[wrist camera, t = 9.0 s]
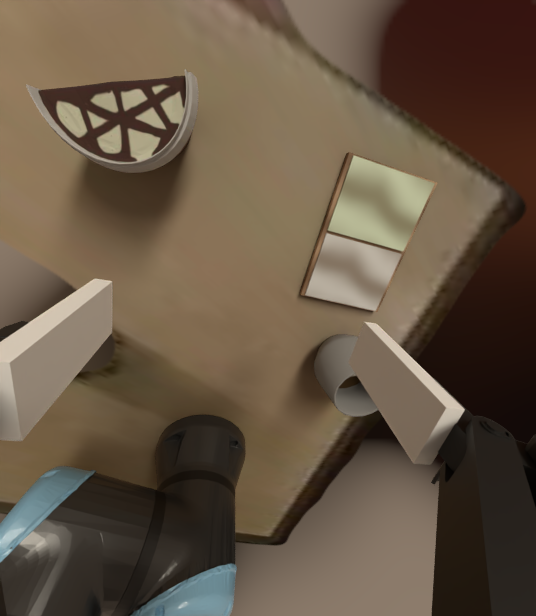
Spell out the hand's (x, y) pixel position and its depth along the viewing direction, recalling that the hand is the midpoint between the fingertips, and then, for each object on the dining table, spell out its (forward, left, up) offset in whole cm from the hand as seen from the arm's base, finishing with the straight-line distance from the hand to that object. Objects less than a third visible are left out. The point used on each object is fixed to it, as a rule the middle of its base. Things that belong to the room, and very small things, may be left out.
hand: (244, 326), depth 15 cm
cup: (-13, -19, -23) cm, 33 cm away
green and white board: (+4, -16, -23) cm, 28 cm away
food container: (+8, +11, -23) cm, 27 cm away
